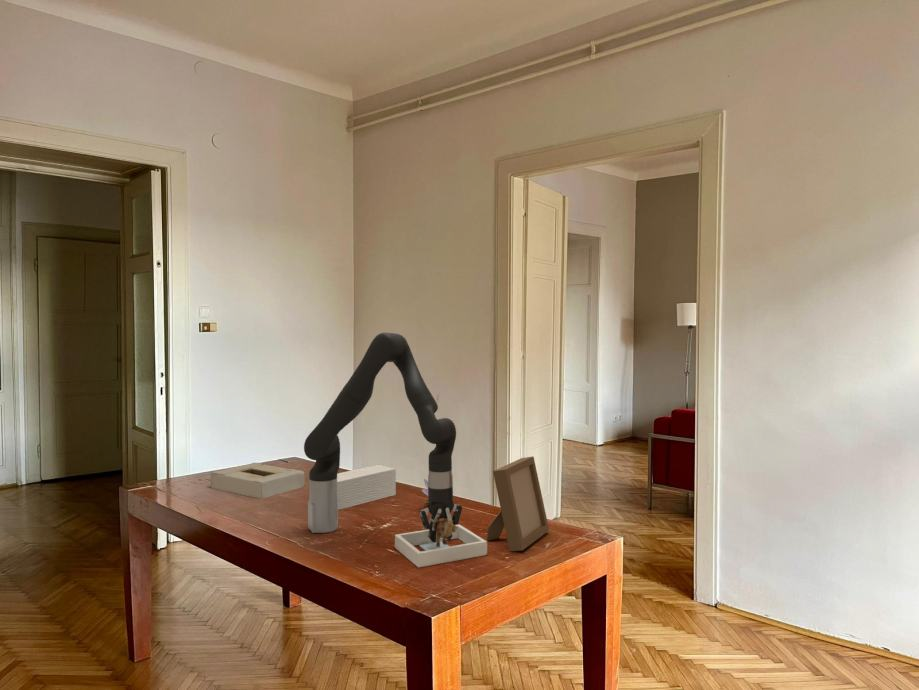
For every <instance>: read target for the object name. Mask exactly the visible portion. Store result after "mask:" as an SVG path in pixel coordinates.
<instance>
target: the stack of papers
mask: <svg viewBox="0 0 919 690" xmlns="http://www.w3.org/2000/svg"><path fill="white" fill-rule="evenodd" d="M396 471H397V469H396V468H393V467H389V466H387V465H386V466H385V465H381V464H376V465H372V466H367V467H362V468H356V469H353V470H347V471H344V472H343V471H342V472H339V473H337V506H338V511H339V510H344V509H347V508H350V507H354V506H357V505H362V504H365V503H369V502H370V503H371V502H373V501H376V500H380V499H385V498H389V497H392V496H396V495H397V486H396V485H397V481H396V480H397V479H396V478H397V472H396Z"/></svg>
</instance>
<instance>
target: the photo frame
mask: <svg viewBox="0 0 919 690" xmlns="http://www.w3.org/2000/svg"><path fill="white" fill-rule="evenodd" d="M535 461H536V460H535V457H534V456H527V457H520V458H519V459H517V460H514V461H513V462H509V463H508V464H506V465H504V466H501V467H499V468H497V469H494V470H492V474H493V478H494V482H495V488H496V493H497V498H498V501H499V507H500V510H499V512H498V513H497V514H496V515H495V517H494V518H493V519H492V521H491V522H490V524H489V525H488V526H487V531H486V540H485V541H491V540H498V539H500V536H501V534H502V533H503V531H504V532H505V536H506V539H507V540H506V541H507V544H508V549H509V550H508V551H509V552H518V551H519V552H520V551H524V550H525V549H526V548H528V547H529V546H530V545H532V544H533V543H534V542H535V541H537V540H538V539H540V538H541V537H543V535H545V534H546V533H548V532H549V531H550V528H549V524H548V518H547V513H546V510H545V509H546V508H545V504H544V499H543V495H542V491H541V485H540V481H539V476H538V471H537V467H536V466H537V465H536V463H535Z"/></svg>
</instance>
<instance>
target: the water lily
mask: <svg viewBox="0 0 919 690" xmlns="http://www.w3.org/2000/svg"><path fill="white" fill-rule="evenodd" d="M423 482H424V485H425V487H426V488H423V489H421V492H422V493H423V494H424V495H426V496H427V497H428V479H426V478H423ZM428 503H429V501H428V499H427V500H426V501H425V504H428Z"/></svg>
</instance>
